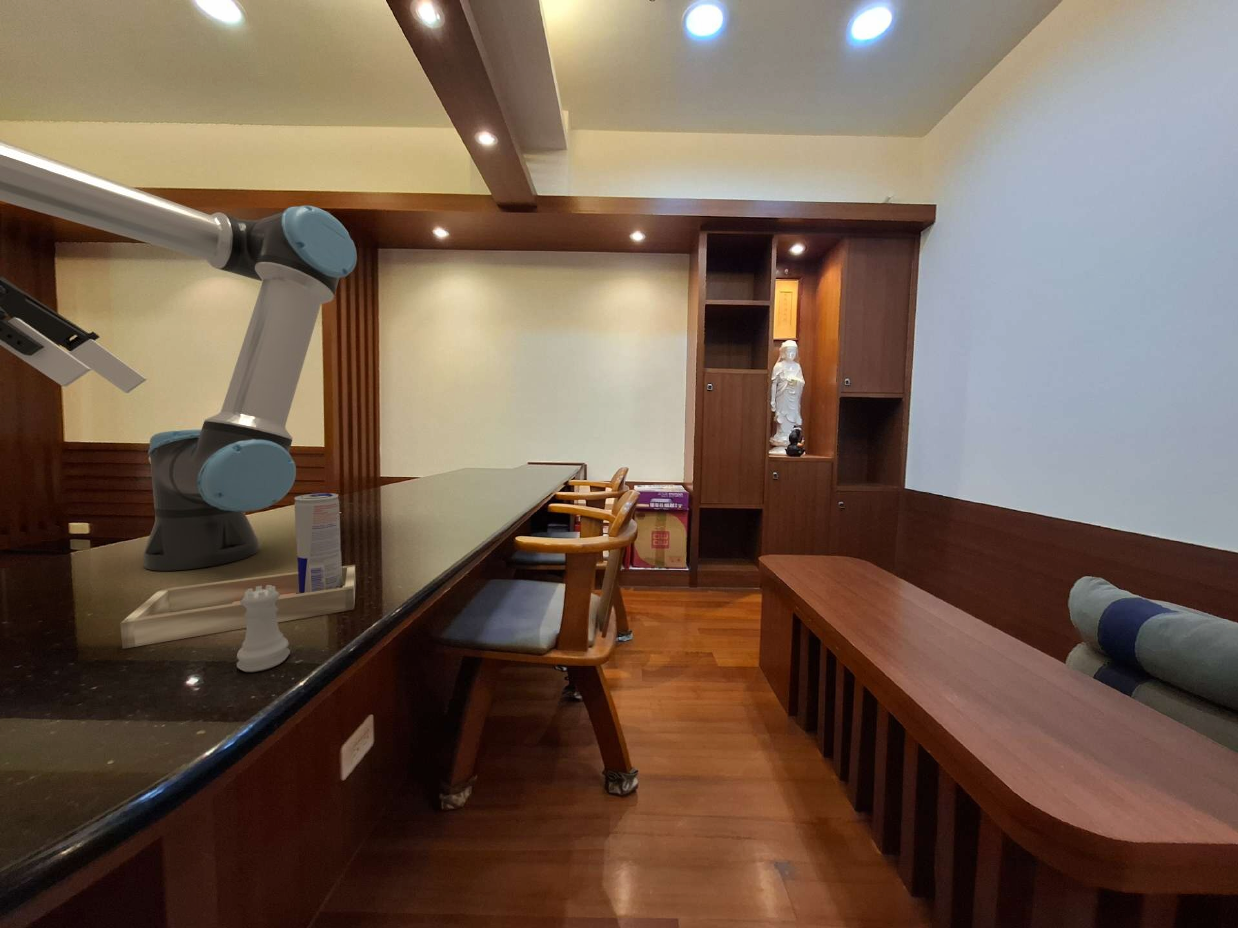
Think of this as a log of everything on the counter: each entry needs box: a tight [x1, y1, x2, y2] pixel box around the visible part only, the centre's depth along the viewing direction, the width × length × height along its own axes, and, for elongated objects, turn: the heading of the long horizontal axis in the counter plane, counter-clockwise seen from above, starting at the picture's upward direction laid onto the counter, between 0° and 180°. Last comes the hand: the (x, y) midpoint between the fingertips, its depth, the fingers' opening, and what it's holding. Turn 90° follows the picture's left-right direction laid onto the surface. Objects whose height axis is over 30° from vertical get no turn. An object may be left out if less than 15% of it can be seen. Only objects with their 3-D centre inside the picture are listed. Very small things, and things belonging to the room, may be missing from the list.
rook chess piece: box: [236, 585, 291, 673], centre depth 46 cm, size 4×4×8 cm
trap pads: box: [231, 593, 296, 604], centre depth 58 cm, size 8×7×1 cm
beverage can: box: [294, 492, 343, 594], centre depth 61 cm, size 5×5×15 cm
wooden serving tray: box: [120, 564, 357, 650], centre depth 58 cm, size 11×22×3 cm, turn 120°
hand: (110, 382), depth 51 cm, fingers open, 13 cm apart
